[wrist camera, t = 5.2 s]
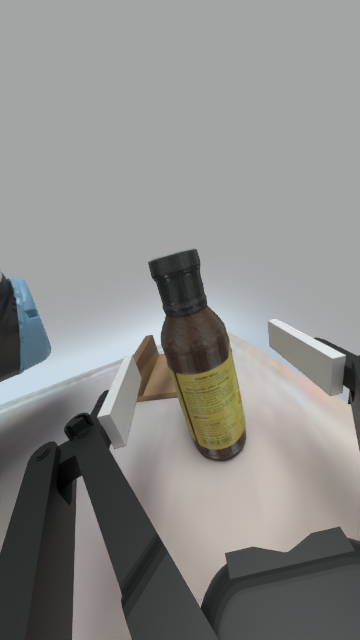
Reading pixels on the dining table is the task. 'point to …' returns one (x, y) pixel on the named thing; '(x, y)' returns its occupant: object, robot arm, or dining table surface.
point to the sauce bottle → (199, 357)
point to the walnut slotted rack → (153, 372)
